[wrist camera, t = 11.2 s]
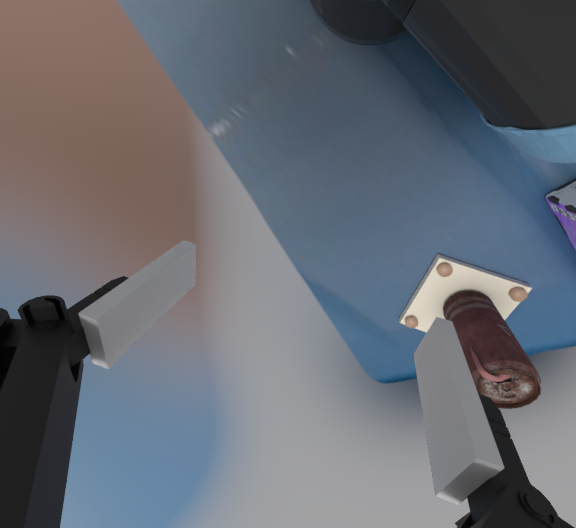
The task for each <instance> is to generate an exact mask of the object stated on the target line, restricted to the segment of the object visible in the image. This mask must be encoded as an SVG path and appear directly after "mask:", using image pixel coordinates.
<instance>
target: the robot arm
mask: <svg viewBox="0 0 576 528" xmlns="http://www.w3.org/2000/svg"><path fill="white" fill-rule="evenodd" d="M310 1H311V3H312V5H313V7H314V8H315V10H316V12H317V14H318V16H319V17H320V19H321V20H322V21H323V23H324V24H325V25H326V26H327V27H328V28H329V29H330V30H331V31H332V32H333V33H334V34H336V35H337V36H339V37H340V38H342V39H344V40H346V41H349V42H352V43H355V44H360V45H377V44H383V43H387V42H390V41H393V40H395V39H398V38H400V37H402V36H404V35H405V34H407V33H409V32H410V33H411V35H412V36H413V37H414V38H415V39H416V40H417V41H418V42H419V43H420V45H421V46H422V47H423V48H424V49H425V50H426V51H427V52H428V53H429V55H430V56H431V57H432V58H433V59H434V60H435V61H436V62H437V63H438V64H439V66H440V67H441V68H442V69H443V70H444V71H445V72H446V73H447V74H448V76H449V77H450V78H451V79H452V80H453V81H454V82H455V83H456V84H457V86H458V87H459V88H460V89H461V90H462V91H463V92H464V93H465V94H466V96H467V97H468V98H469V99H470V100H471V101H472V102H473V103H474V104H475V106H476V107H477V108H478V109H479V114H480V117H481V119H482V120H483V121H484V123H485V124H486V125H487V126H489V127H491V128H493V129H494V130H495V131H498V132H500V133H501V134H502V135H503V136H504V137H505V138H506V139H507V140H508V141H509V142H510V143H511V144H512V145H513V146H514V147H515V148H516V149H517V150H519V151H520V152H521V153H523V154H524V155H527V156H529V157H531V158H533V159H536V160H540V161H544V162H551V163H576V0H310ZM195 284H196V244H194V243H191V242H188V241H185V240H183V241H182V242H181V243H179V244H177V245H176V246H175V247H173V248H172V249H170V250H169V251H167V252H166V253H164V254H163V255H161V256H160V257H159V258H157V259H156V260H154V261H153V262H152V263H150V264H148V265H147V266H146V267H144V268H143V269H141V270H140V271H138V272H137V273H136V274H134V275H133V276H131V277H130V278H128V277H125V276H123V277H120V278H117V279H115V280H111V281H110V282H108V283H107V284H105V285H104V286H102V288H99V289H98V290H96V291H95V292H94V293H92V294H90V295H89V296H87V297H86V298H84V299H83V300H81V301H80V302H78V303H76V304H75V305H74V306H72V307H70V308H69V309H67V308H66V305H65V302H64V300H63V299H62V298H61V297H58V296H41V297H36V298H34V299H31V300H29V301H27V302H25V303H24V304H22V305H21V306H20V308H19V309H18V312H19V315H20V317H21V319H22V320H20V319H11V318H10V316H9V314H8V312H7V311H6V310H4V309H2V308H0V528H60V522H61V515H62V509H63V502H64V495H65V488H66V482H67V475H68V468H69V461H70V454H71V447H72V441H73V434H74V426H75V419H76V413H77V406H78V400H79V393H80V386H81V379H82V372H83V366H84V365H83V359H84V358H85V357H86V356H87V355H88V354H90V356H91V359H92V362H93V363H94V364H97V365H99V366H102V367H105V368H107V369H109V368H110V367H111V366H112V365H113V364H114V363H115V362H116V361H117V360H118V359H119V358H120V357H121V356H122V355H123V354H124V353H125V352H126V351H127V350H128V349H129V348H130V347H131V346H132V345H133V344H135V342H137V340H139V339H140V338H141V337H142V335H144V334H145V332H147V331H148V330H149V329H150V328H151V327H152V326H153V325H154V324H155V323H156V322H157V321H158V320H159V319H160V318H161V317H162V316H163V315H164V314H165V313H166V312H167V311H168V310H169V309H170V308H171V307H172V306H173V305H174V304H175V303H176V302H177V301H178V300H179V299H180V298H181V297H182V296H183V295H184V294H185V293H186V292H188V291H189V290H190V289H191V288H192V286H194V285H195ZM414 360H415V366H416V373H417V379H418V385H419V392H420V399H421V405H422V412H423V418H424V425H425V431H426V438H427V444H428V451H429V458H430V464H431V471H432V477H433V484H434V490H435V496H437V497H439V498H442V499H444V500H447V501H449V502H452V503H454V504H457V505H459V504H460V503H461V502H463V501H464V500H465V499H466V498H468V503H469V507H470V511H471V512H470V513H468V514H466V515H465V516H464V517H462V518H461V519H460V520H458V521H457V522H456V523H455V524H456V525H457V526H458V527H457V528H574V527H572V526H571V525H569V524H568V523H567V522H565V521H564V520H562V519H561V518H560V517H558V515H557V513H556V511H555V509H554V508H553V506H552V505H551V503H550V502H549V501H548V500H547V499H546V497H545V496H544V495H543V494H542V493H541V492H540V491H539V490H537V489H536V488H535V487H533V486H532V485H531V484H530V482H529V480H528V477H527V475H526V472H525V470H524V468H523V465H522V463H521V460H520V458H519V455H518V453H517V451H516V448H515V446H514V443H513V441H512V439H510V433H509V431H508V428H507V427H506V424H505V421H504V419H503V416H502V414H501V412H500V410H499V409H498V407H497V406H496V405H495V403H494V402H493V401H492V399H491V398H490V397H487V396H484V395H481V394H478V392H477V389H476V387H475V384H474V381H473V378H472V375H471V372H470V370H469V367H468V364H467V361H466V358H465V356H464V353H463V350H462V347H461V344H460V342H459V339H458V336H457V333H456V330H455V328H454V325H453V322H452V321H449V320H445V319H442V318H439V317H436V318H435V320H434V322H433V323H432V325H431V326H430V328H429V330H428V331H427V333H426V335H425V336H424V338H423V340H422V341H421V343H420V345H419V346H418V348H417V350H416V351H415V353H414Z"/></svg>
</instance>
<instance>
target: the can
mask: <svg viewBox="0 0 576 528" xmlns="http://www.w3.org/2000/svg"><path fill="white" fill-rule="evenodd" d="M443 314H444V317H445V320H449V321H452V322H453V325H454V328H455V330H456V333H457V336H458V339H459V342H460V344H461V347H462V350H463V353H464V356H465V358H466V361H467V364H468V367H469V370H470V372H471V375H472V378H473V381H474V384H475V387H476V389H477V392H478V394H481V395H484V396H487V397H490V398H491V399H492V401H493V402H494V403H495V405H496V406H497V407H498V408H507V409H512V408H519V407H523V406H525V405H528V404H530V403H532V402H533V401H535V400H536V399H537V398H538V396H539V395H540V393H541V386H540V383H541V379H540V376H539V374H538V372H537V371H536V369H535V368H534V366H533V364H532V363H531V361H530V360H529V358H528V357H527V355H526V353H525V352H524V350H523V349H522V347H521V346H520V344H519V342H518V341H517V339H516V338H515V336H514V335H513V333H512V332H511V330H510V328H509V327H508V325H507V324H506V322H505V321H504V319H503V318H502V316H501V314H500V313H499V311H498V310H497V308H496V307H495V305H494V303H493V302H492V300H491V299H490V298H489V297H488V296H487V295H485V294H482V293H480V292H475V291H462V292H459V293H456V294H454V295H453V296H451V297H450V298H449V299H448V300H447V301H446V302H445V305H444V307H443Z"/></svg>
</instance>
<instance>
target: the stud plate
mask: <svg viewBox="0 0 576 528" xmlns="http://www.w3.org/2000/svg"><path fill="white" fill-rule="evenodd" d="M531 289H532V288H531V286H530V285H529V284H528V283H525V282H522V281H519V280H515V279H512V278H509V277H506V276H503V275H500V274H497V273H494V272H491V271H488V270H485V269H482V268H479V267H476V266H473V265H470V264H467V263H464V262H461V261H458V260H455V259H452V258H448V257H445V256H442V255H439V254H437V256H436V258H435V259H434V261H433V263H432V264H431V266H430V268H429V269H428V271H427V273H426V274H425V276H424V278H423V279H422V281H421V283H420V284H419V286H418V288H417V289H416V291H415V293H414V294H413V296H412V297H411V299H410V301H409V302H408V304H407V306H406V307H405V309H404V311H403V312H402V314H401V316H400V317H399V321H400V323H402V324H404V325H406V326H407V327H409V328H416V329H418V330H421V331H424V332H427V331H428V330H429V328H430V326H431V325H432V323H433V322H434V320H435V318H436V317H439V318H442V319H445V317H444V314H443V307H444V305H445V302H446V301H447V300H448V299H449V298H450V297H451V296H453V295H454V294H456V293H459V292H462V291H475V292H480V293H482V294H485V295H487V296H488V297H489V298H490V299H491V300H492V302H493V303H494V305H495V307H496V308H497V310H498V311H499V313H500V314H501V316H502V318H503V319H504V320H505V319H506V318H507V317H508V316H509V315H510V313H511V312H512V311H513V310H514V309H515V308H516V307H517V305H518V304H519V303H520V302H521V301H523V300H525V299H526V298H527V297H528V293H529V292H530V290H531Z"/></svg>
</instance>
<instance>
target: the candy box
mask: <svg viewBox="0 0 576 528" xmlns="http://www.w3.org/2000/svg"><path fill="white" fill-rule="evenodd" d="M545 198H546V200H547V202H548V204H549V206H550V208H551V210H552V211H553V213H554V214H555V216H556V218H557V220H558V221H559V223H560V225H561V227H562V228H563V230H564V232H565V233H566V235H567V237H568V239H569V240H570V242H571V244H572V245H573V247H574V249H575V251H576V180H574V181H572V182H570V183H568V184H566V185H564V186H562V187H560V188H558V189H556V190H555V191H553V192H551V193H549V194H548V195H546V196H545Z"/></svg>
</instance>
